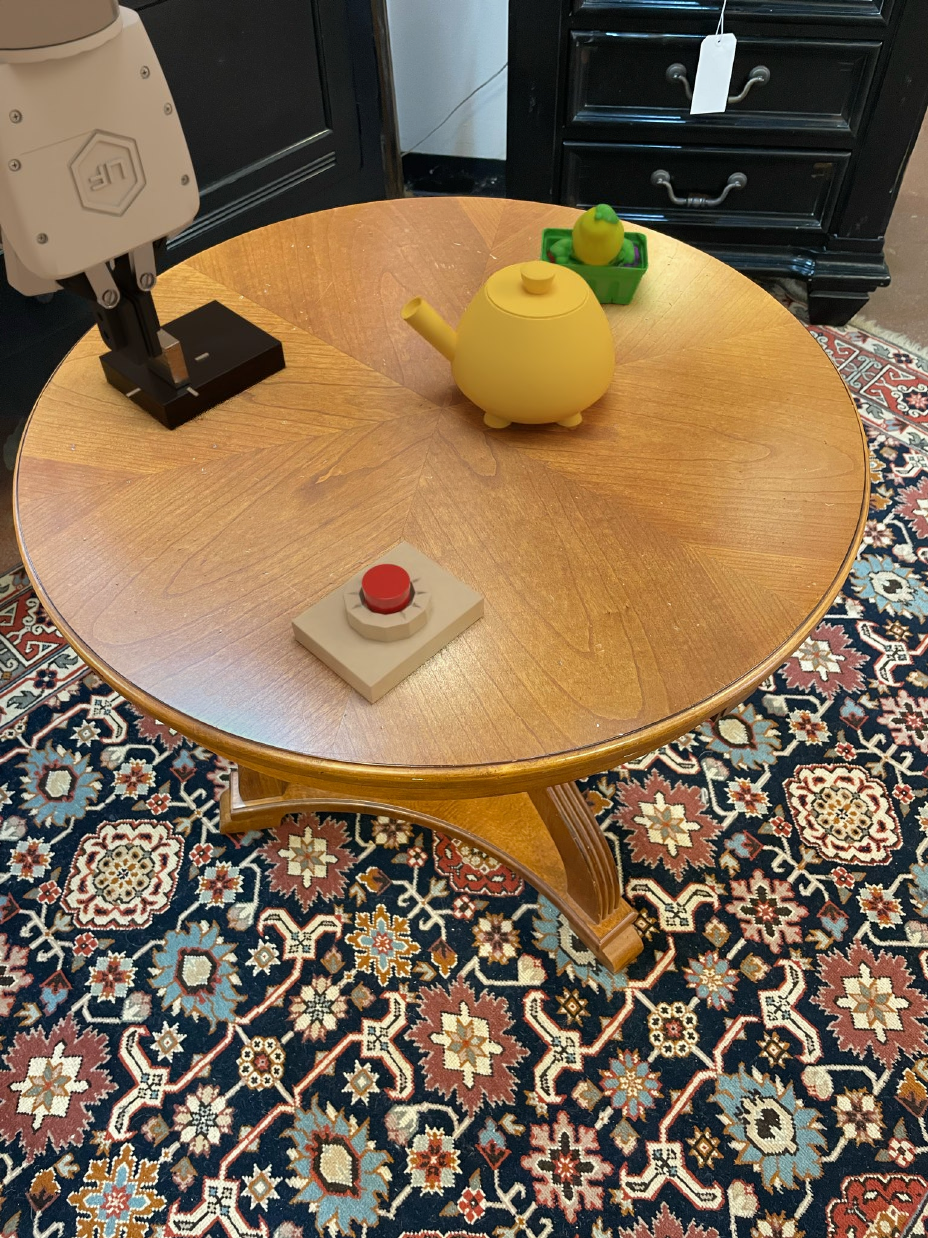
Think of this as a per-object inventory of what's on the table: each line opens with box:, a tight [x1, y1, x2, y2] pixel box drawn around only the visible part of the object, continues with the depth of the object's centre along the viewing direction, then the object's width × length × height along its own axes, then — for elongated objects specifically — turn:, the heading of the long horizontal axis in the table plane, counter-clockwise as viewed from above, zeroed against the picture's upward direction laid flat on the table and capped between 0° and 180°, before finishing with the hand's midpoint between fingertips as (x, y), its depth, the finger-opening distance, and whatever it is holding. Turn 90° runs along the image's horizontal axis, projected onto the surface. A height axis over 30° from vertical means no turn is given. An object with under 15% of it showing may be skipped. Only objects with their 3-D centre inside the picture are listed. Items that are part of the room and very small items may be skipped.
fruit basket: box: [539, 203, 649, 305], centre depth 101 cm, size 11×9×11 cm
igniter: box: [291, 540, 485, 705], centre depth 74 cm, size 12×9×4 cm
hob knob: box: [146, 329, 190, 389], centre depth 89 cm, size 5×2×5 cm, turn 45°
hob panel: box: [98, 299, 287, 431], centre depth 94 cm, size 16×12×3 cm
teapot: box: [400, 260, 616, 429], centre depth 89 cm, size 20×16×14 cm
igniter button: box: [362, 564, 411, 614], centre depth 72 cm, size 4×4×2 cm
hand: (136, 350), depth 56 cm, fingers closed
